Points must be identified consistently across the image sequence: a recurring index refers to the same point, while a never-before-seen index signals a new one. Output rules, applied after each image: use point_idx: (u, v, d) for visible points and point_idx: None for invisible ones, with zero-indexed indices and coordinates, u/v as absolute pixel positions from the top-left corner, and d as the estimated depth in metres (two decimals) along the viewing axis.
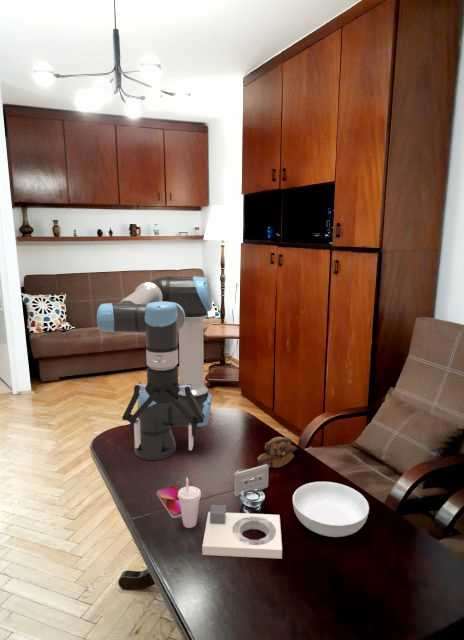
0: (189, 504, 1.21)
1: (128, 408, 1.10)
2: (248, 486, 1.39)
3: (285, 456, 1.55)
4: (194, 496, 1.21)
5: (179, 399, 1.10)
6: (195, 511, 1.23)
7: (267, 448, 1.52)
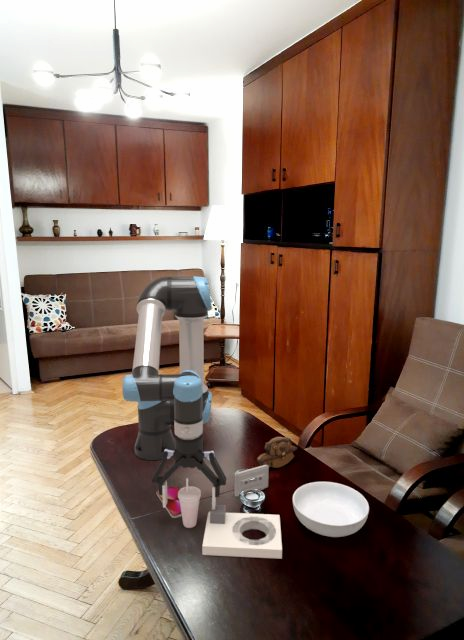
0: (189, 504, 1.21)
1: (157, 472, 1.21)
2: (248, 486, 1.39)
3: (285, 456, 1.55)
4: (194, 496, 1.21)
5: (203, 463, 1.22)
6: (195, 511, 1.23)
7: (267, 448, 1.52)
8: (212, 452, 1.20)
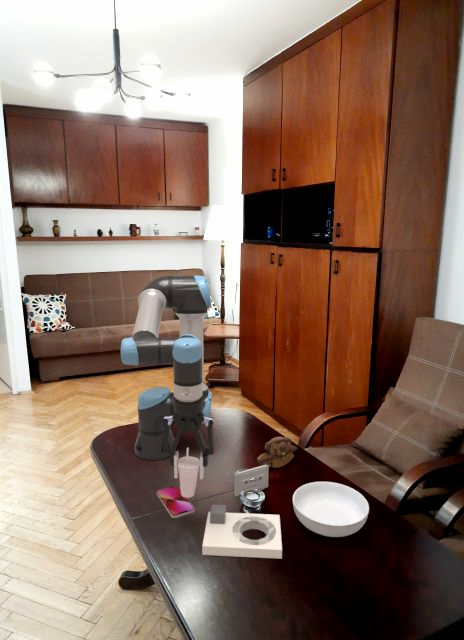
0: (188, 474, 1.19)
1: (165, 441, 1.20)
2: (248, 486, 1.39)
3: (285, 456, 1.55)
4: (194, 466, 1.20)
5: (199, 430, 1.20)
6: (194, 481, 1.21)
7: (267, 448, 1.52)
8: (212, 420, 1.18)
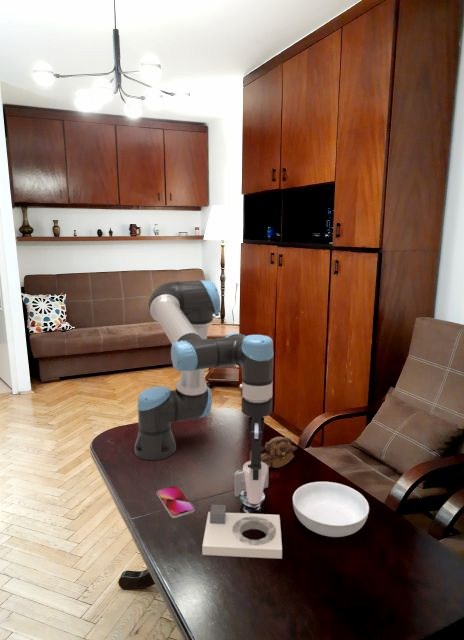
0: (244, 473, 1.15)
1: None
2: None
3: (285, 456, 1.55)
4: (248, 470, 1.13)
5: None
6: (248, 487, 1.14)
7: (267, 448, 1.52)
8: (254, 432, 1.06)
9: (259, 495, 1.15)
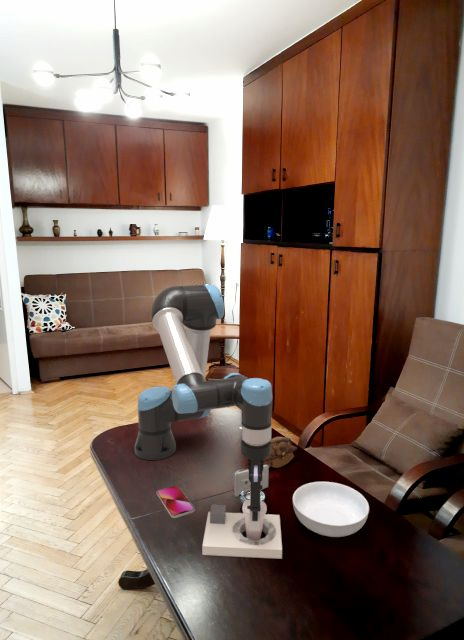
0: None
1: None
2: (248, 486, 1.39)
3: (285, 456, 1.55)
4: (247, 510, 1.16)
5: None
6: (248, 526, 1.17)
7: None
8: (254, 475, 1.08)
9: (258, 534, 1.17)
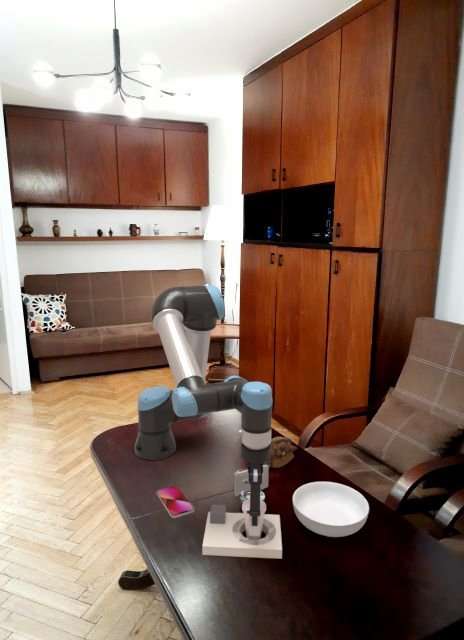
0: None
1: None
2: (248, 486, 1.39)
3: (285, 456, 1.55)
4: (247, 508, 1.16)
5: None
6: (248, 525, 1.17)
7: None
8: (254, 474, 1.08)
9: None
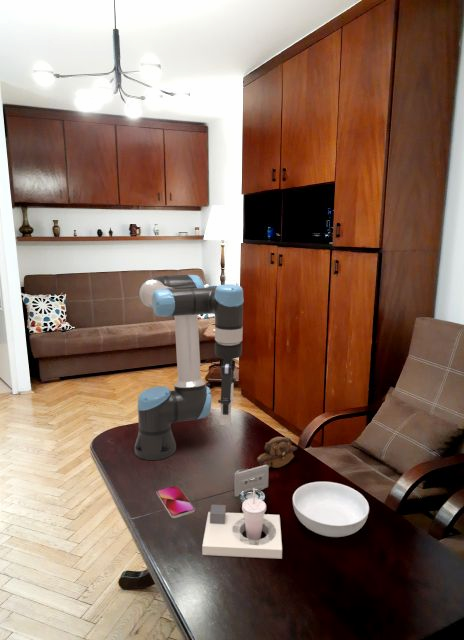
0: None
1: None
2: (248, 486, 1.39)
3: (285, 456, 1.55)
4: (247, 508, 1.16)
5: None
6: (248, 525, 1.17)
7: (267, 448, 1.52)
8: (225, 366, 1.17)
9: (258, 533, 1.17)
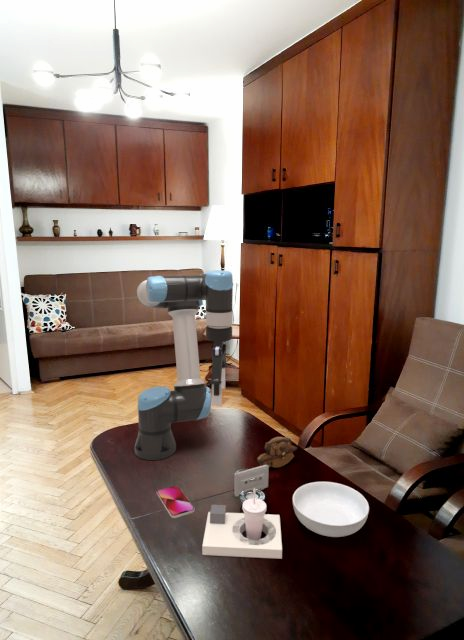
0: None
1: None
2: (248, 486, 1.39)
3: (285, 456, 1.55)
4: (247, 508, 1.16)
5: None
6: (248, 525, 1.17)
7: (267, 448, 1.52)
8: (215, 348, 1.21)
9: (258, 533, 1.17)
